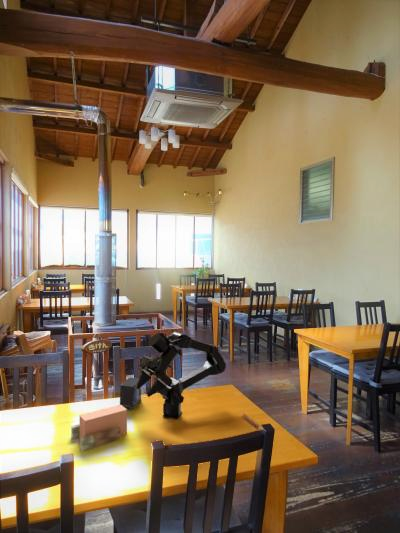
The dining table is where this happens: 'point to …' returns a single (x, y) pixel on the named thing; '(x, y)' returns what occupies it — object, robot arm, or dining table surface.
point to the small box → (130, 393)
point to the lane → (95, 437)
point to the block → (103, 420)
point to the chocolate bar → (251, 421)
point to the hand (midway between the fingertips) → (142, 392)
